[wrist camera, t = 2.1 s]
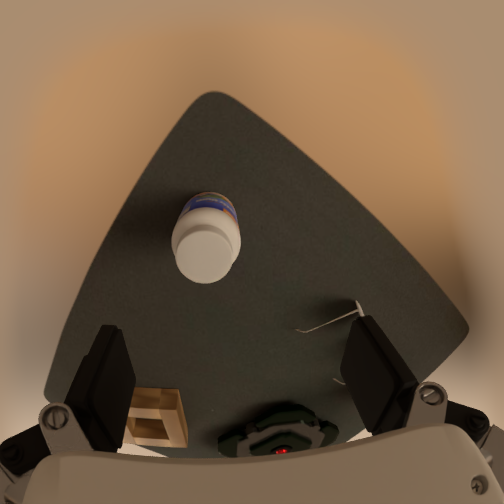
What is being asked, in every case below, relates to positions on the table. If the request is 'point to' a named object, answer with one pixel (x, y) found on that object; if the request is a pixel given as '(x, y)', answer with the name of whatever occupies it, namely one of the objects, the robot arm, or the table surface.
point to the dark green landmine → (278, 433)
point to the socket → (156, 407)
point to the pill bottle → (206, 238)
